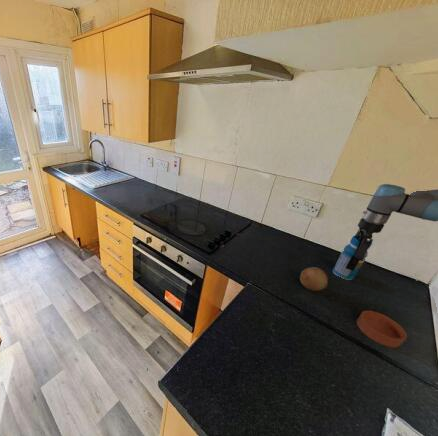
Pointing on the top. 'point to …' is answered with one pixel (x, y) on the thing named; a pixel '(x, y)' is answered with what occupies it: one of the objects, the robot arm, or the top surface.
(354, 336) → the top surface
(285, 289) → the top surface
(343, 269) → the beverage bottle
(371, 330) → the bottle stand
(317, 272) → the onion
